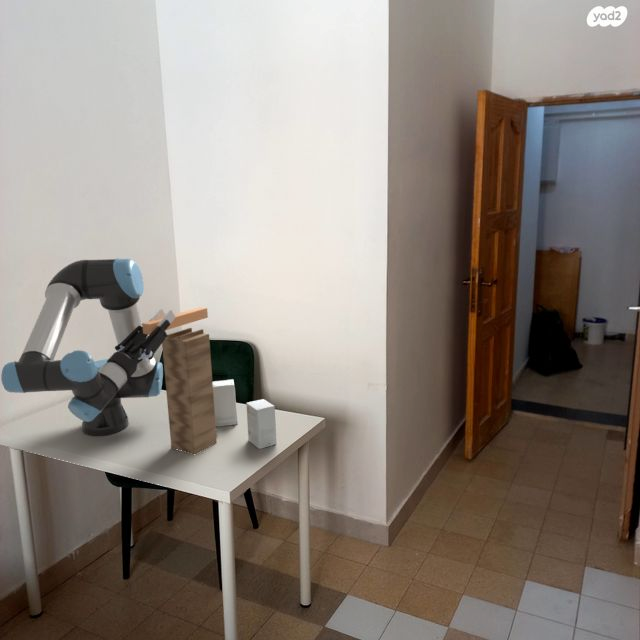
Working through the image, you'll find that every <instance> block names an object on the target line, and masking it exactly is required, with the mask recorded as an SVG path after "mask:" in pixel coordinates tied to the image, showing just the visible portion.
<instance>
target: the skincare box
mask: <svg viewBox="0 0 640 640" xmlns="http://www.w3.org/2000/svg"><path fill="white" fill-rule="evenodd" d="M234 381H235V380H234V379H233V378H232V379H226V380H225V379H224V380H215V381H212V383H213V397H214V411H215V425H216V426H217V427H223V426H232V425H233V426H234V425H238V423H239V422H238V410H237V409H238V408H237V401H236V388H235V382H234Z"/></svg>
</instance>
